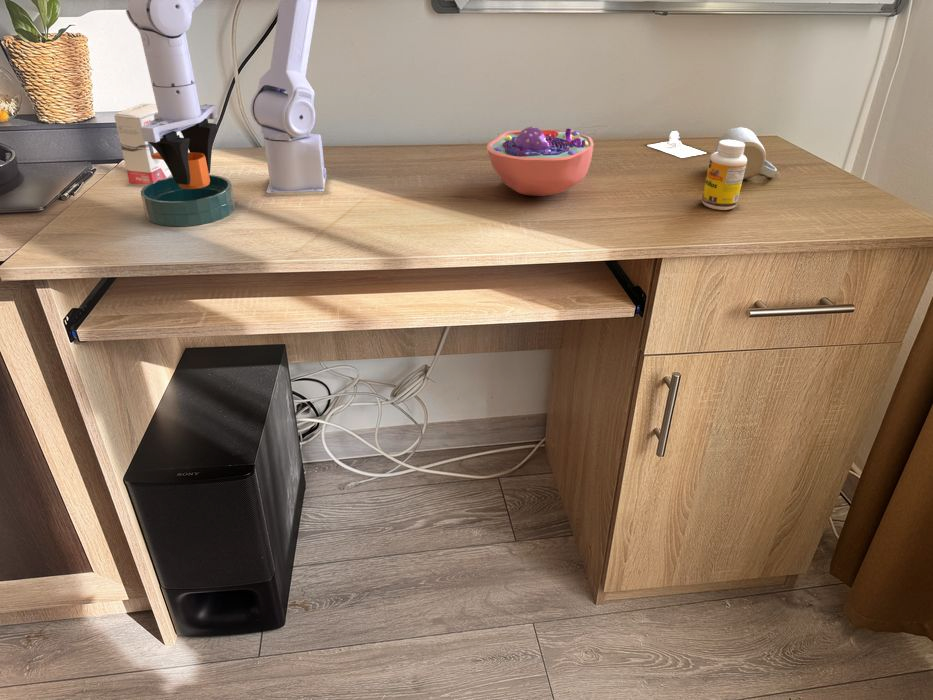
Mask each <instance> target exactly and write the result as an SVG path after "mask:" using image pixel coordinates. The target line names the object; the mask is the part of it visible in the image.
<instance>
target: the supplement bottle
mask: <svg viewBox="0 0 933 700" xmlns="http://www.w3.org/2000/svg"><path fill="white" fill-rule="evenodd" d="M744 148H745V144H744V143H743V142H740V141H736V140H721V141H719V144H718V148H717V152H715V151H714V152H713V153H712V154H711V155H710V157H709V161H708V168H707V171H706V172H707V173H706V176H705V181H704V187H703V192H702V198H701V203H702V204H703V205H704V206H705V207H707V208H709V209H712V210H716V211H717V210H718V211H727V210H733V209H735V208H736V207H737V205H738V201H739V197H740V193H741V189H742V185H743V181H744V179H743V176H744V172H745V168H746V163H747V158H746V157H745V156H744V155H743V153H744Z"/></svg>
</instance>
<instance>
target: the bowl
mask: <svg viewBox="0 0 933 700" xmlns="http://www.w3.org/2000/svg"><path fill="white" fill-rule="evenodd" d="M209 177H210V184H209V185H208V186H205V187H203V188H198V189H184V188H181V187H180V186H179V184H177V183H176V182H175V180H174V178H173V176H169V177H167V178H164V179H161V180H157V181H155V182H152V183H150V184H148V185H147V184H146V185H145V186H143V188H142V189H141V190H140V197H141V202H142V206H143V210H144V213H145V216H146V219H147V220H148V221H149V222H150V223H153V224H155V225H159V226H164V227H193V226H200V225H205V224H210V223H214V222H217V221H219V220H223V219H224V218H226V217H228V216H230V215H232V213H233V212H235V209H236V202H235V197H234V191H233V185H232V182H231V181H230V180H229V179H228V178H226V177H223V176H220V175H216V174H215V175H214V174H209Z"/></svg>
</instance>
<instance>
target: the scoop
mask: <svg viewBox="0 0 933 700" xmlns="http://www.w3.org/2000/svg"><path fill="white" fill-rule="evenodd" d="M151 156H152V158H153V159H161V160H163V158H162V157H161V156H160V154H159V153H158V152H156V153H154V154H151ZM188 164H189V171H190V184H188V185H185V184H179V186H180V187H181V188H184V189H198V188H203V187H205V186H208V185H209V184H210V177H209V175H210V174H209V172H208V167H207V162H206V157H205V155H204V154H203V153H196V152H188Z"/></svg>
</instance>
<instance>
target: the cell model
mask: <svg viewBox="0 0 933 700" xmlns="http://www.w3.org/2000/svg"><path fill="white" fill-rule="evenodd" d="M594 146H595V145H594V141H593V139H592V137H591V136H588V135H584V134H580V133H579V132H578V131H576V130H572V129H571V128H566V129H565V130H560V129H559V130H558V129H553V130H552V129H539V128H538V127H534V126H528V127H526V128H524V129H520V130H509V131H505V132H501V134H499V135H498V136H497V137H496V138H495V139H492V140H491V141H490V142H488V143H487V145H486V149H487V153H488V156H489V160H490V163H491V166H492V168H493V170H494V171H495V173H496V174H497V176H498V177H499V178H500V180H501V181H502V182H503V183H504V185H505V186H507V187H508V188H509V189H511V190H513V191H514V192H516V193H518V194H520V195H523V196H529V197H548V196H555V195H558V194H560V193H563V192H565V191H567V190H568V189H570V188H572V187H573V186H575V185H577V184H579V183H581V182H582V181H583V180H584V179H585V177H586V176H587V174H588V172H589V169H590V166H591V162H592V158H593V152H594Z"/></svg>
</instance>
